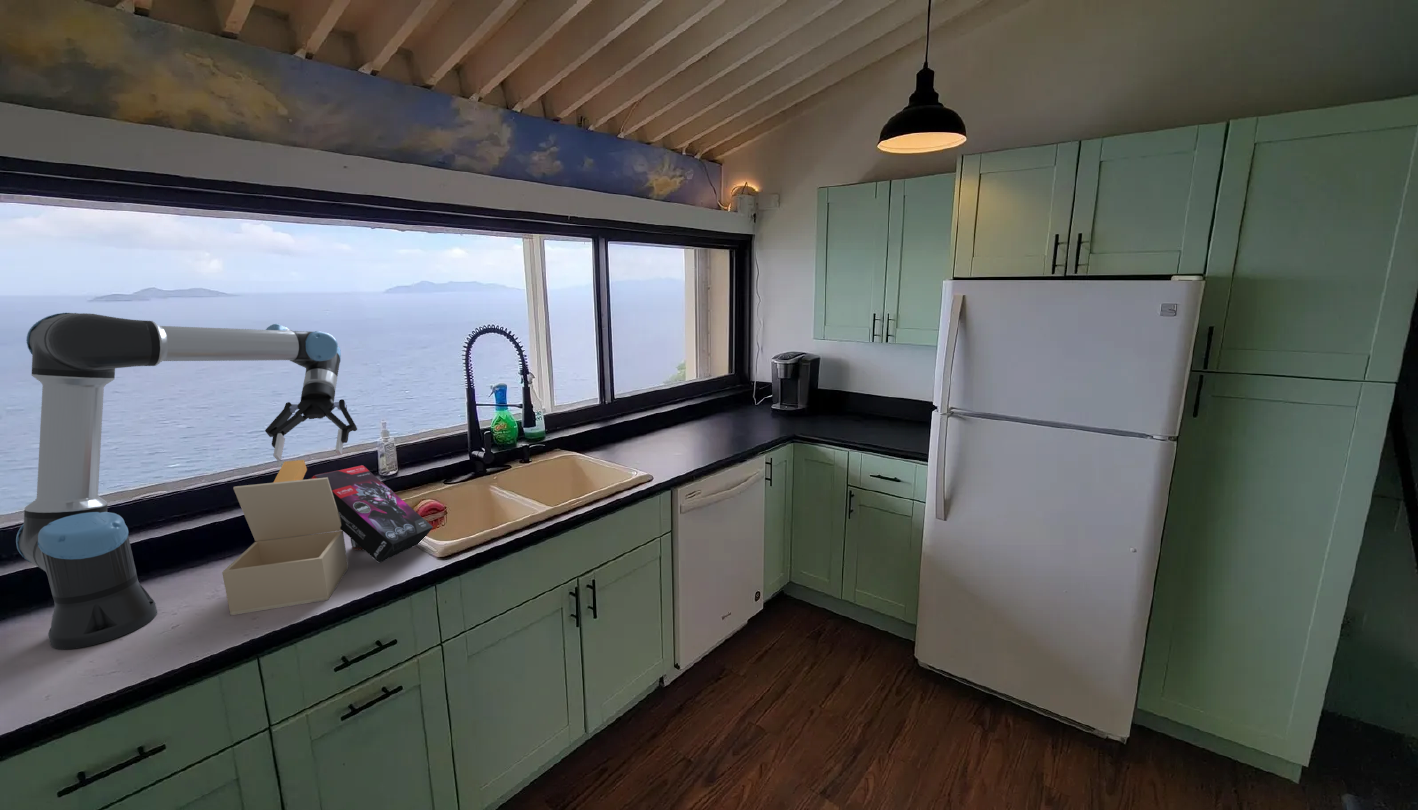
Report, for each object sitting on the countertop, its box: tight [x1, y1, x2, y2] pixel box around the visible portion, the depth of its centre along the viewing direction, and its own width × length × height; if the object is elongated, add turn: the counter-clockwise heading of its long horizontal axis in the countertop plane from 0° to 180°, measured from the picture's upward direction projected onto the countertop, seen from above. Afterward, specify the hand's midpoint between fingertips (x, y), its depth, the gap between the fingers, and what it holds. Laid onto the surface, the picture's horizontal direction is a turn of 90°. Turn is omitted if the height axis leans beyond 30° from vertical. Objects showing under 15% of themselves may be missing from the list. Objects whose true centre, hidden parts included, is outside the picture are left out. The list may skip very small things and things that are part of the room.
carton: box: [221, 530, 349, 616], centre depth 128 cm, size 18×16×10 cm
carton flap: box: [233, 459, 342, 542], centre depth 134 cm, size 18×16×10 cm
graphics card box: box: [309, 464, 433, 564], centre depth 145 cm, size 17×7×27 cm
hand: (308, 455), depth 144 cm, fingers open, 13 cm apart
